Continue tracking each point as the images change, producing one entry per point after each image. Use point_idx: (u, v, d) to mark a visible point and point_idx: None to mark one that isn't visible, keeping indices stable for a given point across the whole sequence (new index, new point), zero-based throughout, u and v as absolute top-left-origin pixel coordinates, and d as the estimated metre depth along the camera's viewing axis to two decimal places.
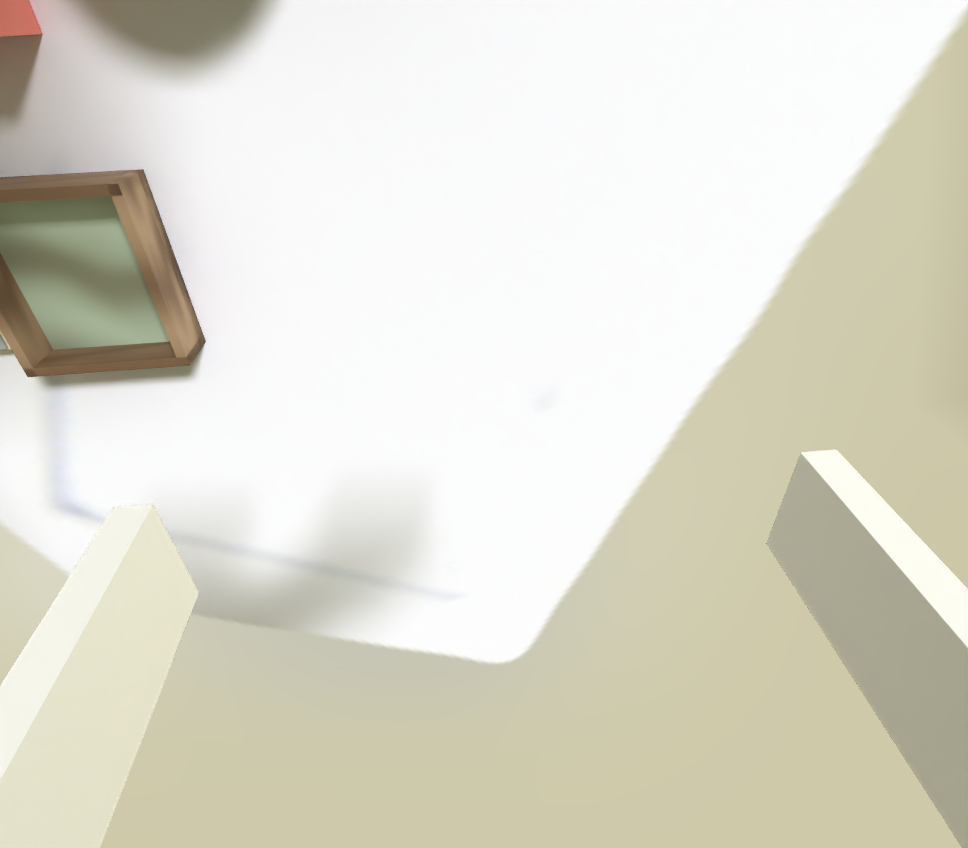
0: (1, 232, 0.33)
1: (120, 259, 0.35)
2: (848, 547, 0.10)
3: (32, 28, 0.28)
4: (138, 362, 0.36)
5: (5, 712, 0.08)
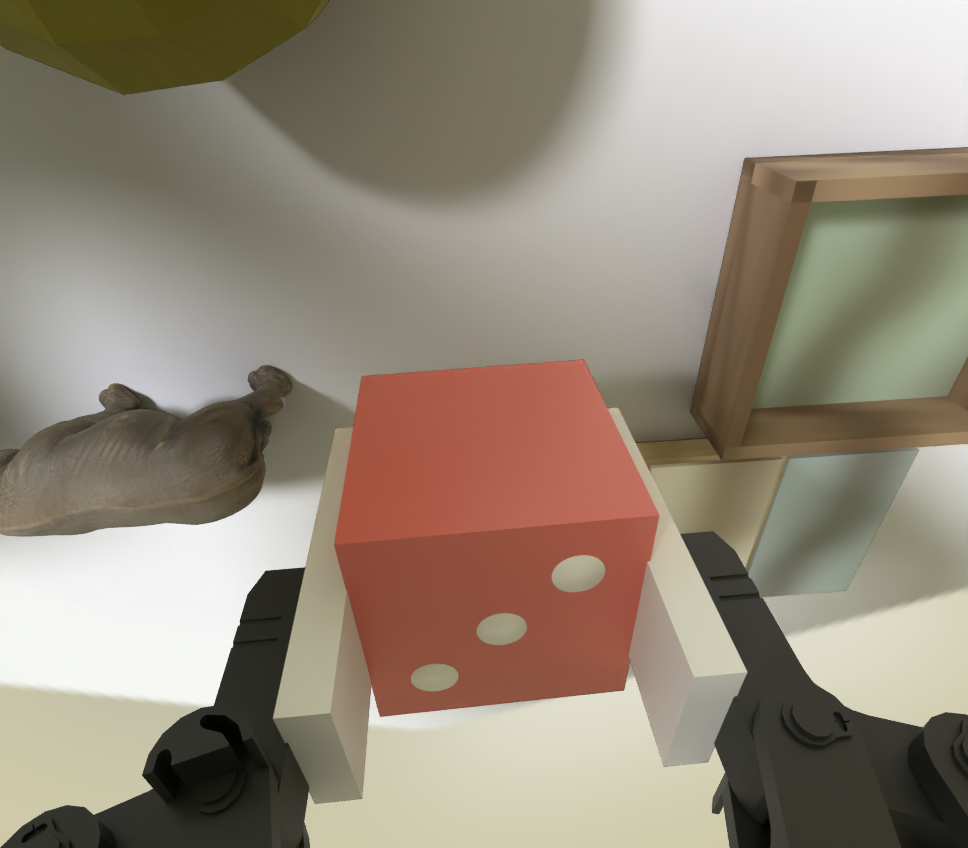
0: (770, 394, 0.23)
1: (871, 244, 0.20)
2: None
3: (581, 377, 0.12)
4: None
5: (322, 567, 0.10)
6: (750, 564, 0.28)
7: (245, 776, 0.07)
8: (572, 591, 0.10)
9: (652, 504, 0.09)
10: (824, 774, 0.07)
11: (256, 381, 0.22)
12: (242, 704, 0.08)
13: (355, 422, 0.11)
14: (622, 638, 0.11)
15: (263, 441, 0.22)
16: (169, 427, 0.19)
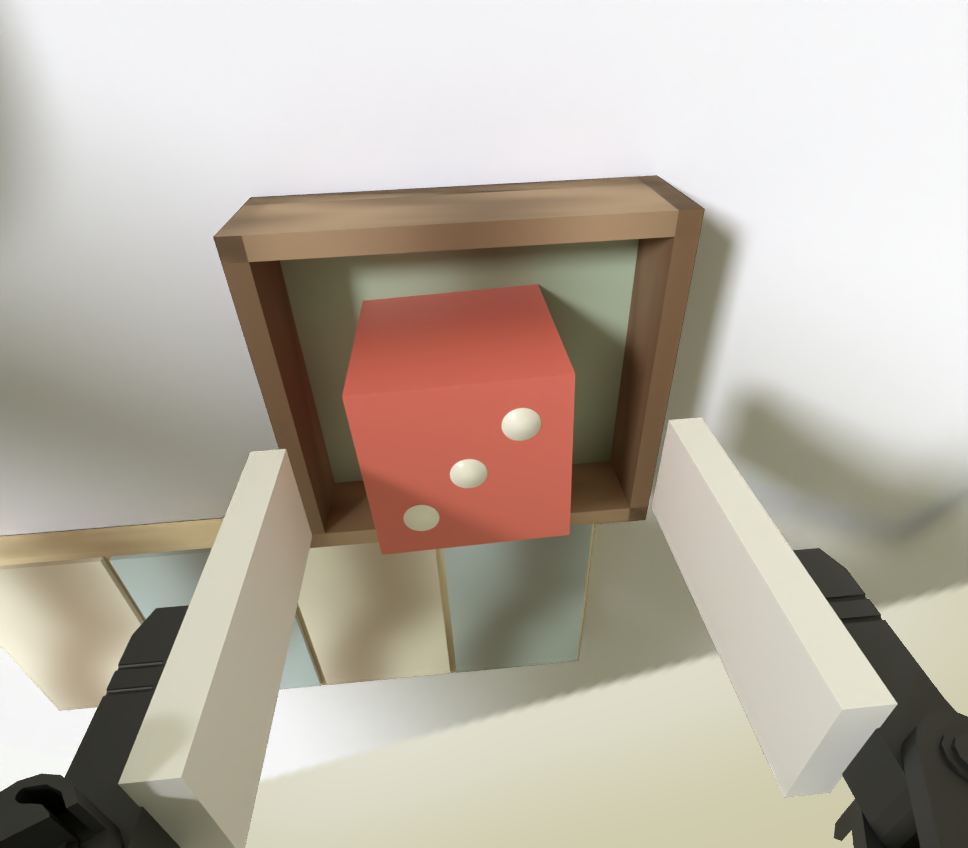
0: None
1: None
2: (697, 502, 0.11)
3: (533, 296, 0.16)
4: (664, 329, 0.15)
5: (206, 608, 0.09)
6: (453, 638, 0.25)
7: (79, 845, 0.07)
8: (518, 440, 0.13)
9: (571, 367, 0.12)
10: None
11: None
12: (102, 760, 0.08)
13: (357, 329, 0.15)
14: (561, 484, 0.14)
15: None
16: None
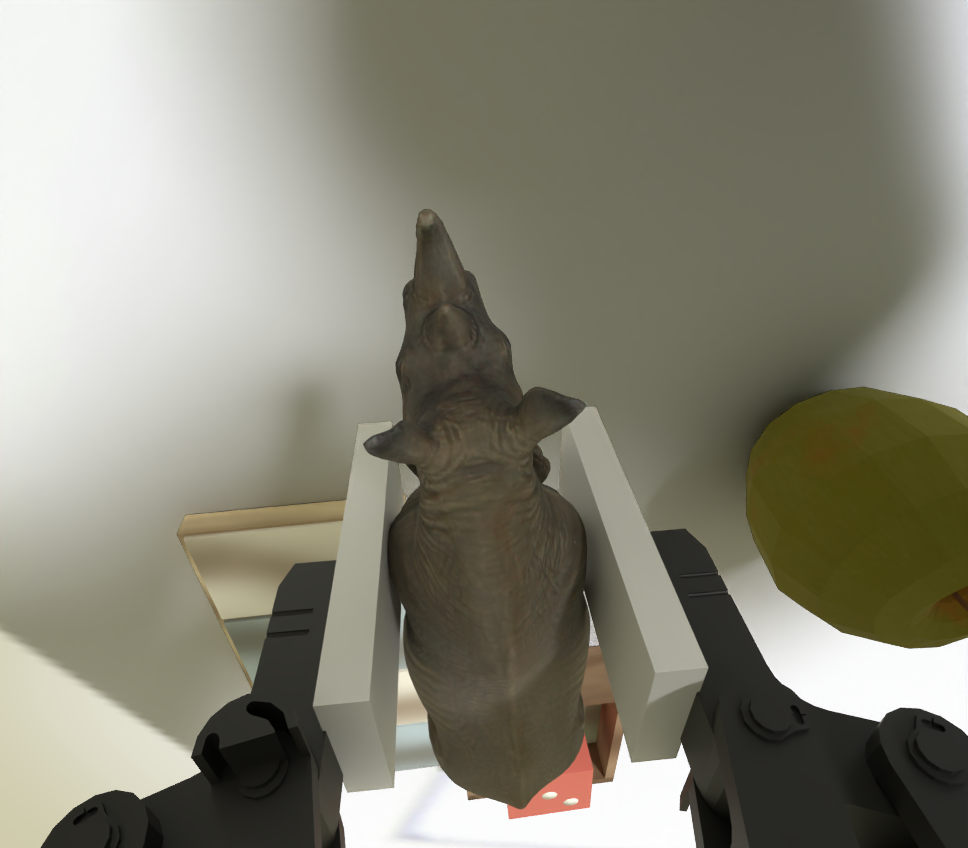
0: None
1: None
2: (580, 486, 0.12)
3: None
4: None
5: (354, 559, 0.10)
6: None
7: (288, 763, 0.07)
8: (563, 802, 0.34)
9: None
10: (782, 769, 0.07)
11: None
12: (279, 692, 0.09)
13: None
14: (538, 813, 0.35)
15: None
16: None
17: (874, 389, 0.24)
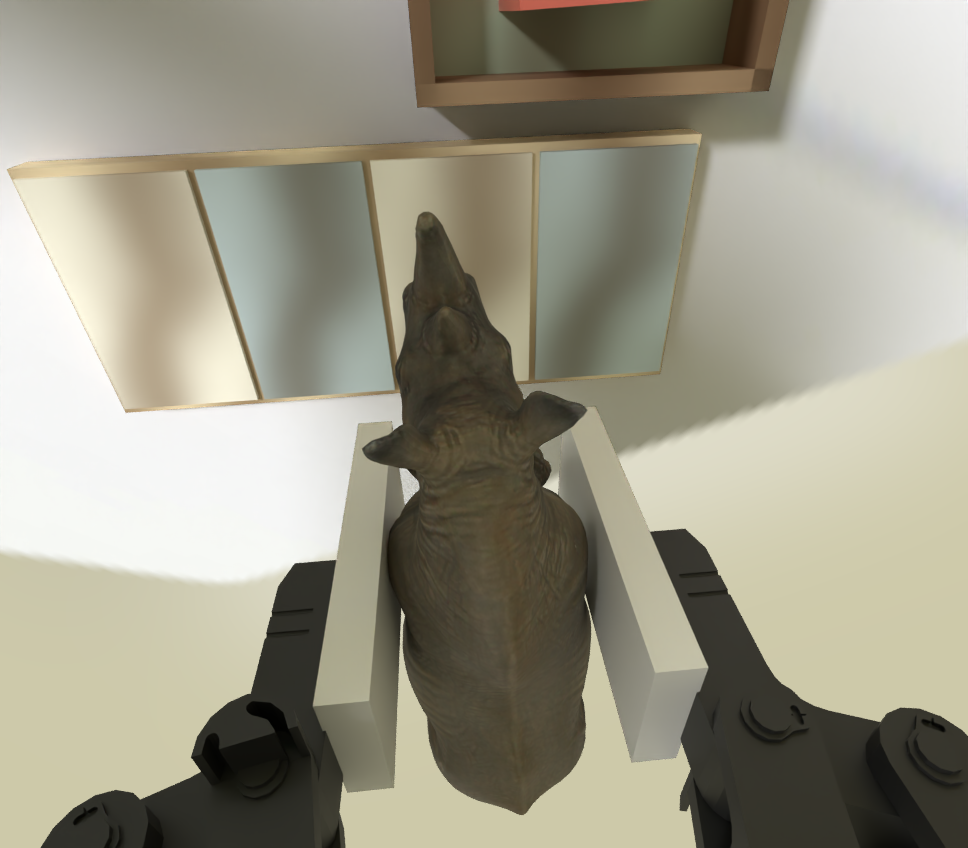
0: (498, 50, 0.19)
1: None
2: (580, 486, 0.12)
3: None
4: None
5: (354, 559, 0.10)
6: (536, 327, 0.24)
7: (288, 763, 0.07)
8: None
9: None
10: (782, 769, 0.07)
11: None
12: (279, 692, 0.09)
13: None
14: None
15: None
16: None
17: None
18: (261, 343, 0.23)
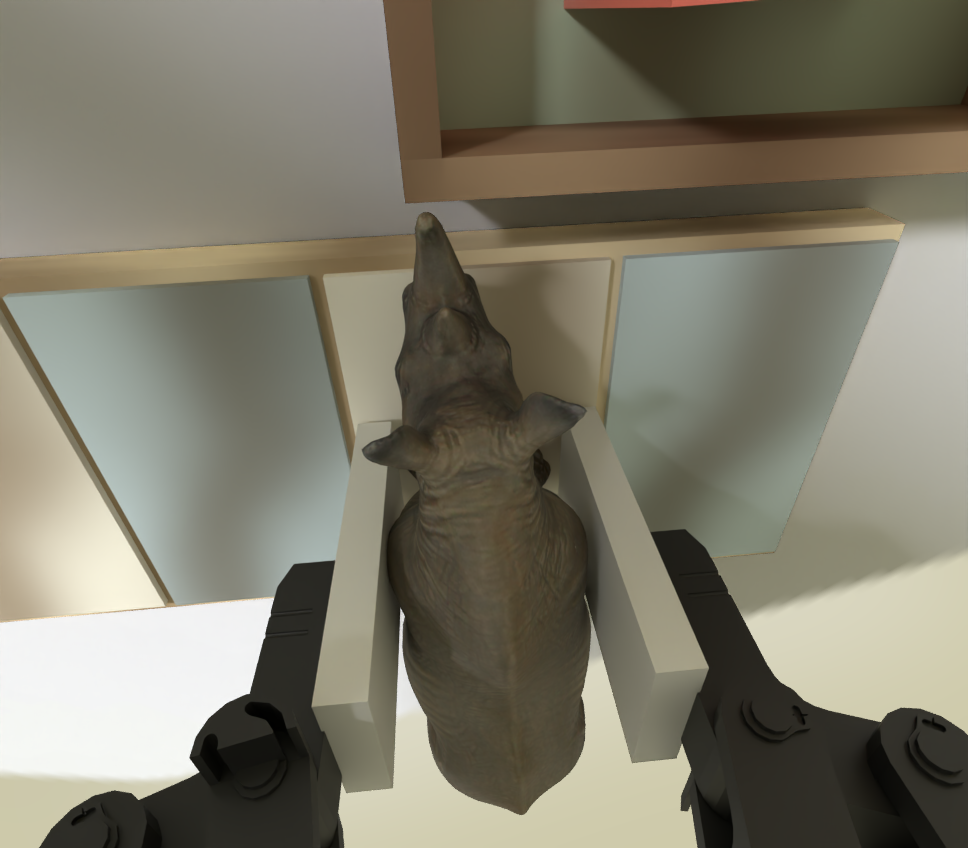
0: (559, 82, 0.10)
1: None
2: (580, 486, 0.12)
3: None
4: None
5: (352, 559, 0.10)
6: None
7: (286, 764, 0.07)
8: None
9: None
10: (783, 769, 0.07)
11: None
12: (278, 692, 0.08)
13: None
14: None
15: None
16: None
17: None
18: (161, 538, 0.15)
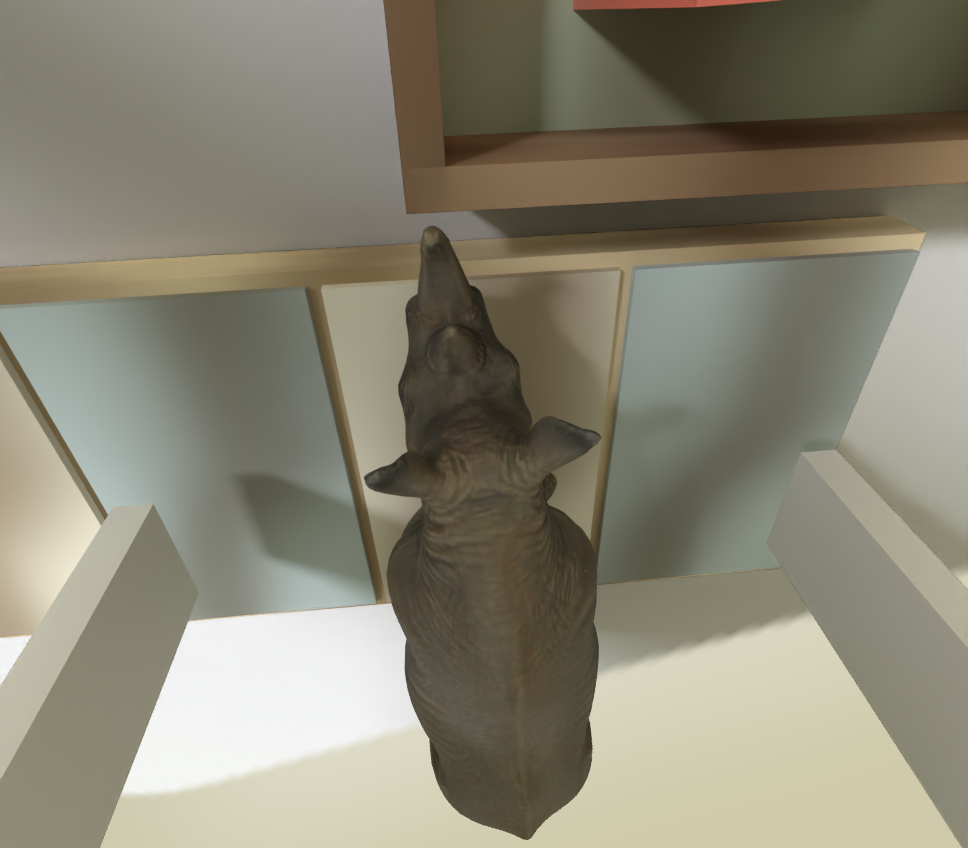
0: (567, 86, 0.10)
1: None
2: (848, 547, 0.10)
3: None
4: None
5: (5, 712, 0.08)
6: (602, 519, 0.15)
7: None
8: None
9: None
10: None
11: None
12: None
13: None
14: None
15: None
16: None
17: None
18: None
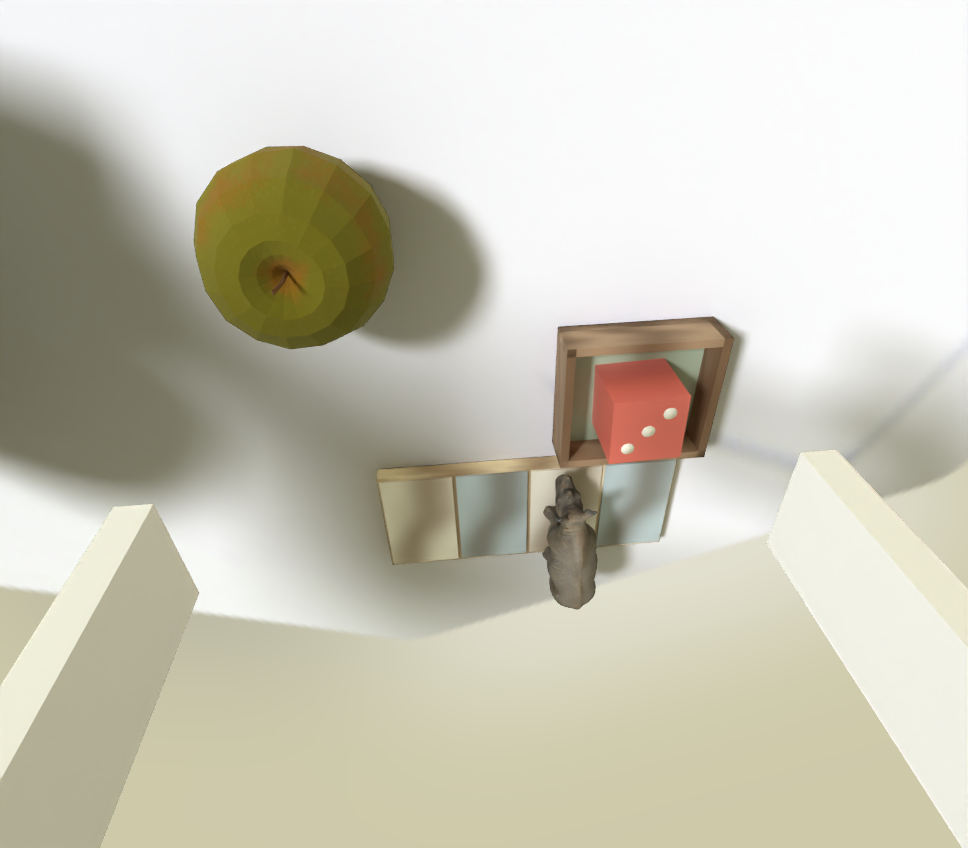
0: (590, 432, 0.44)
1: None
2: (848, 547, 0.10)
3: (665, 363, 0.40)
4: (717, 378, 0.39)
5: (5, 712, 0.08)
6: (598, 525, 0.49)
7: None
8: (668, 419, 0.37)
9: (689, 394, 0.37)
10: None
11: None
12: None
13: (601, 378, 0.39)
14: (680, 435, 0.38)
15: None
16: None
17: None
18: (466, 536, 0.49)
